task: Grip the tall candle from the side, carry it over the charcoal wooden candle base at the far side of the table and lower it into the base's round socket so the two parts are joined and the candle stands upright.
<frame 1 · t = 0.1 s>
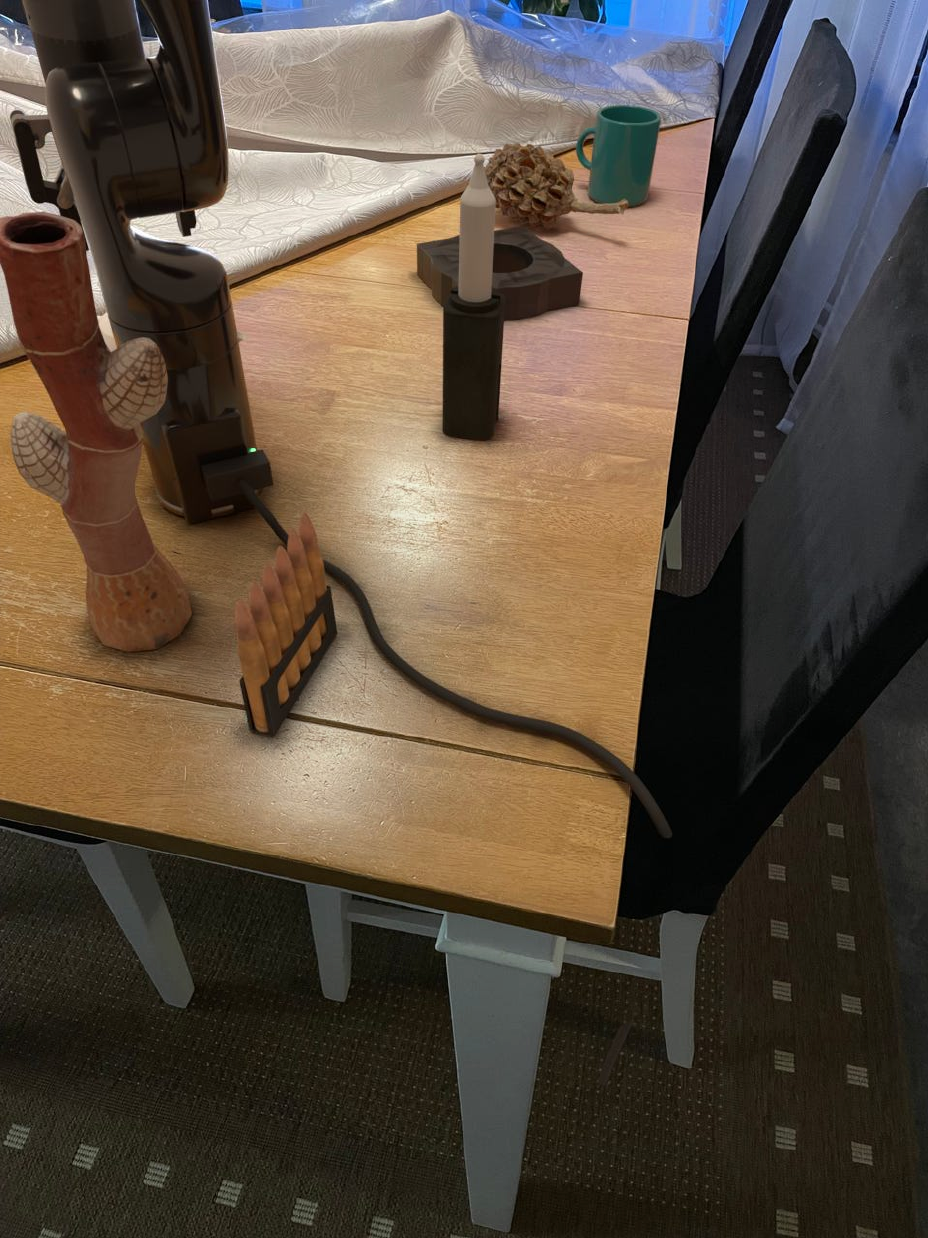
hand: (135, 239, 75), 17 cm above the table, tool pointing down, fingers open, 8 cm apart
candle: (470, 426, 87), on the table
teapot: (168, 392, 91), on the table
ammunition clip: (296, 681, 64), on the table
pine cone: (553, 230, 123), on the table
vase: (155, 623, 67), on the table
cup: (608, 196, 132), on the table
candle base: (496, 289, 109), on the table
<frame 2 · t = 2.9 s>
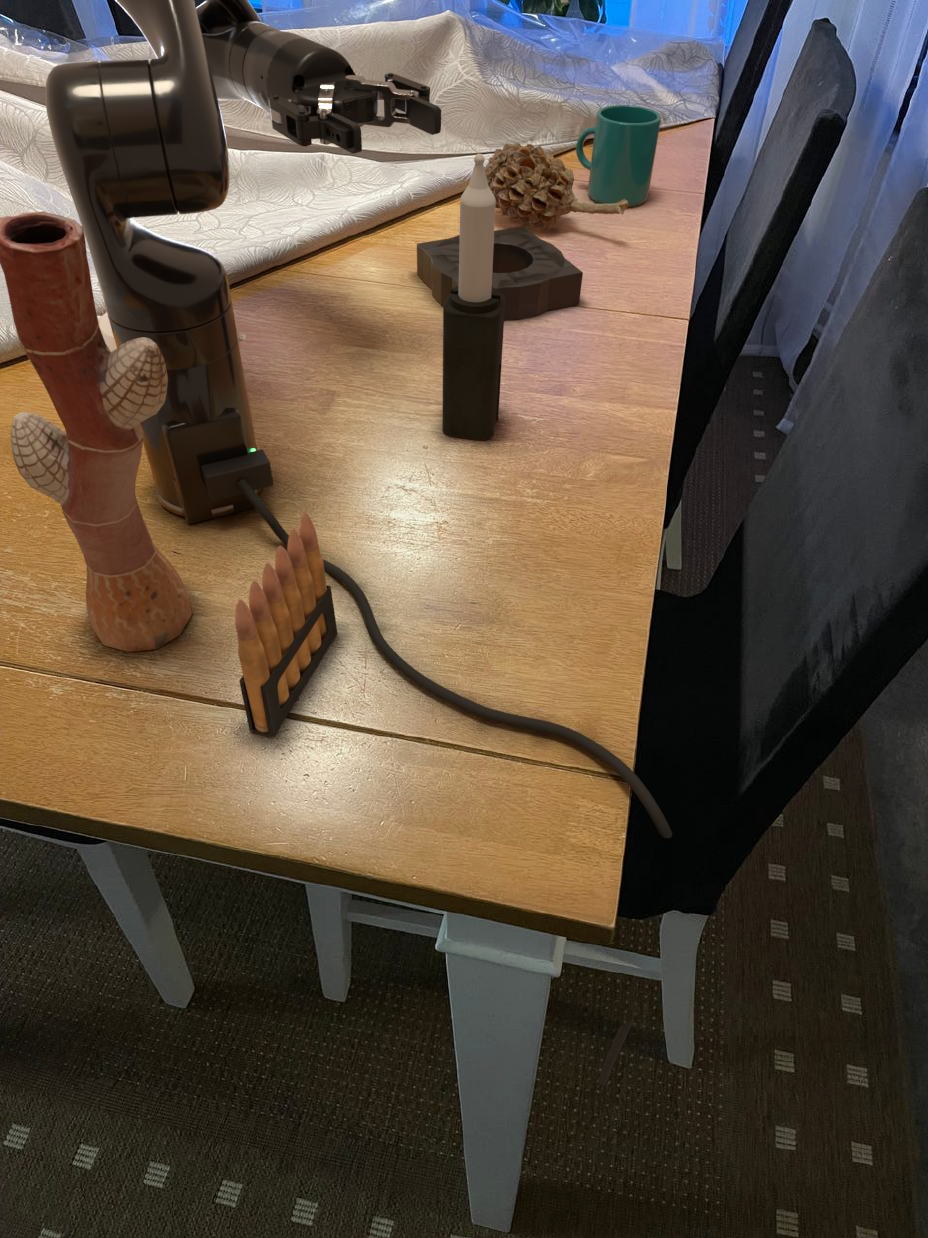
hand: (399, 130, 76), 24 cm above the table, tool horizontal, fingers open, 8 cm apart
nothing on the table moved.
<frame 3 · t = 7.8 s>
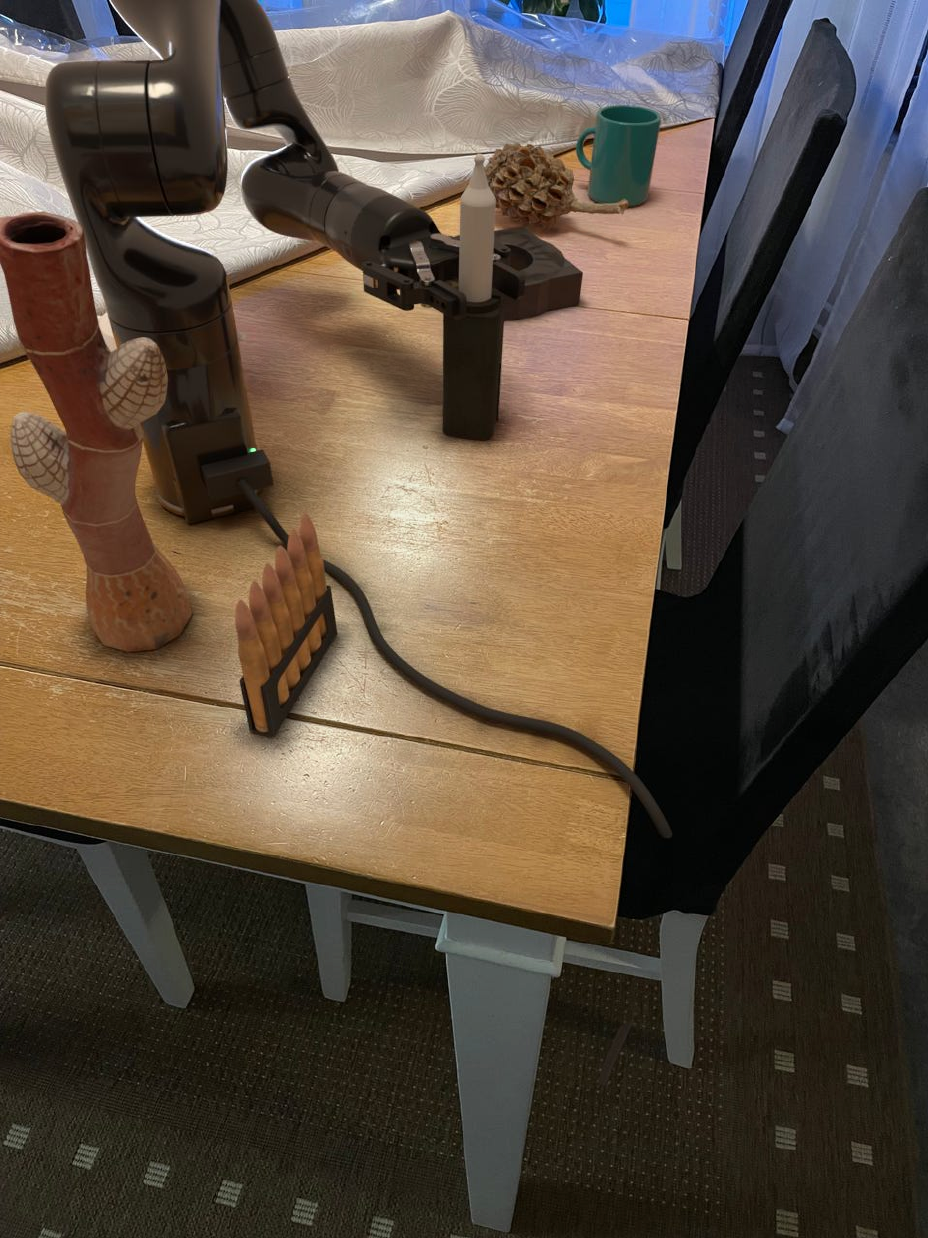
hand: (492, 298, 76), 14 cm above the table, tool horizontal, fingers closed on candle, 6 cm apart
candle: (470, 426, 87), on the table, touching gripper
everything else where it was.
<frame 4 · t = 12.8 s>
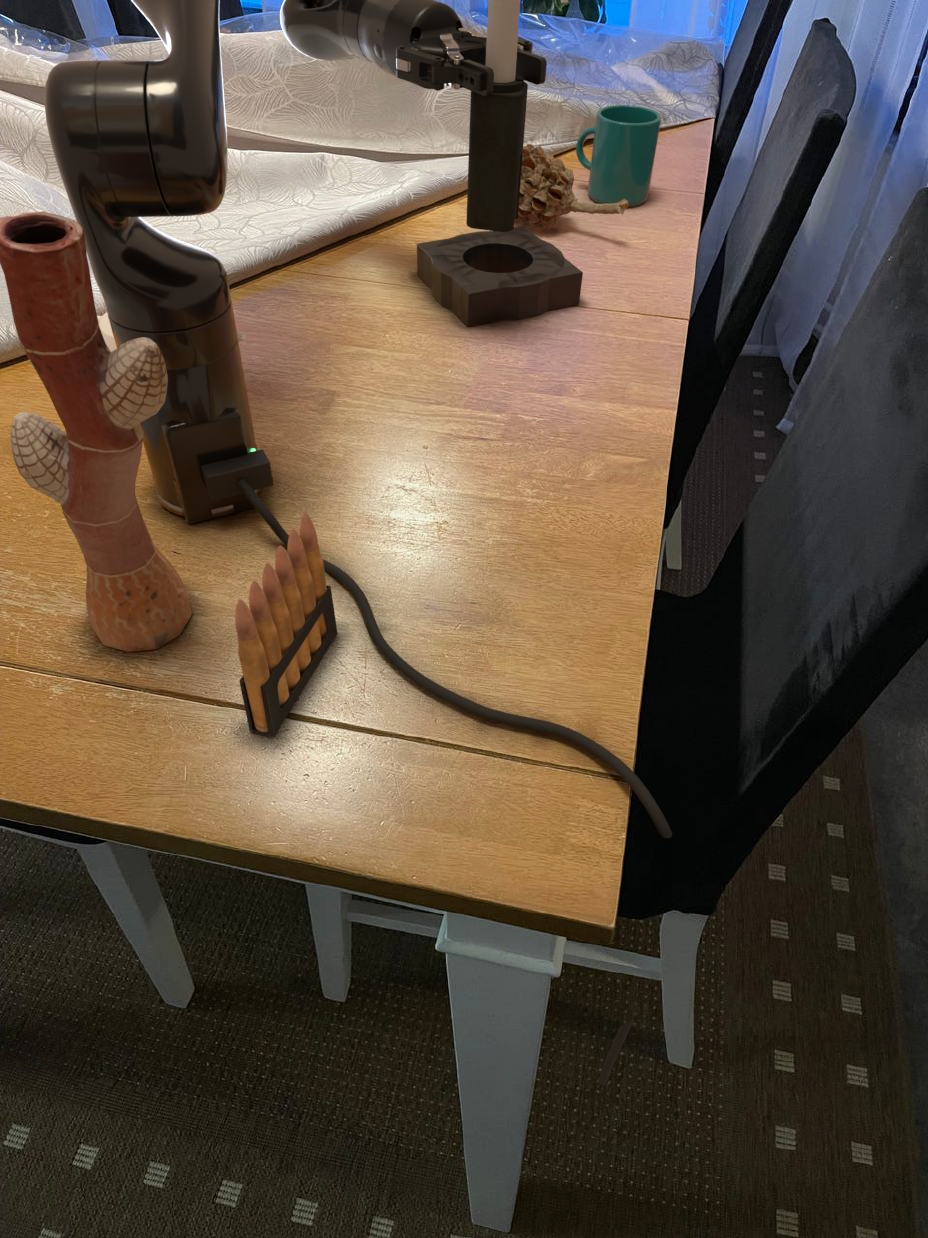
hand: (517, 77, 82), 26 cm above the table, tool horizontal, fingers closed on candle, 6 cm apart
candle: (492, 222, 94), point 12 cm above the table, touching gripper
everything else where it was.
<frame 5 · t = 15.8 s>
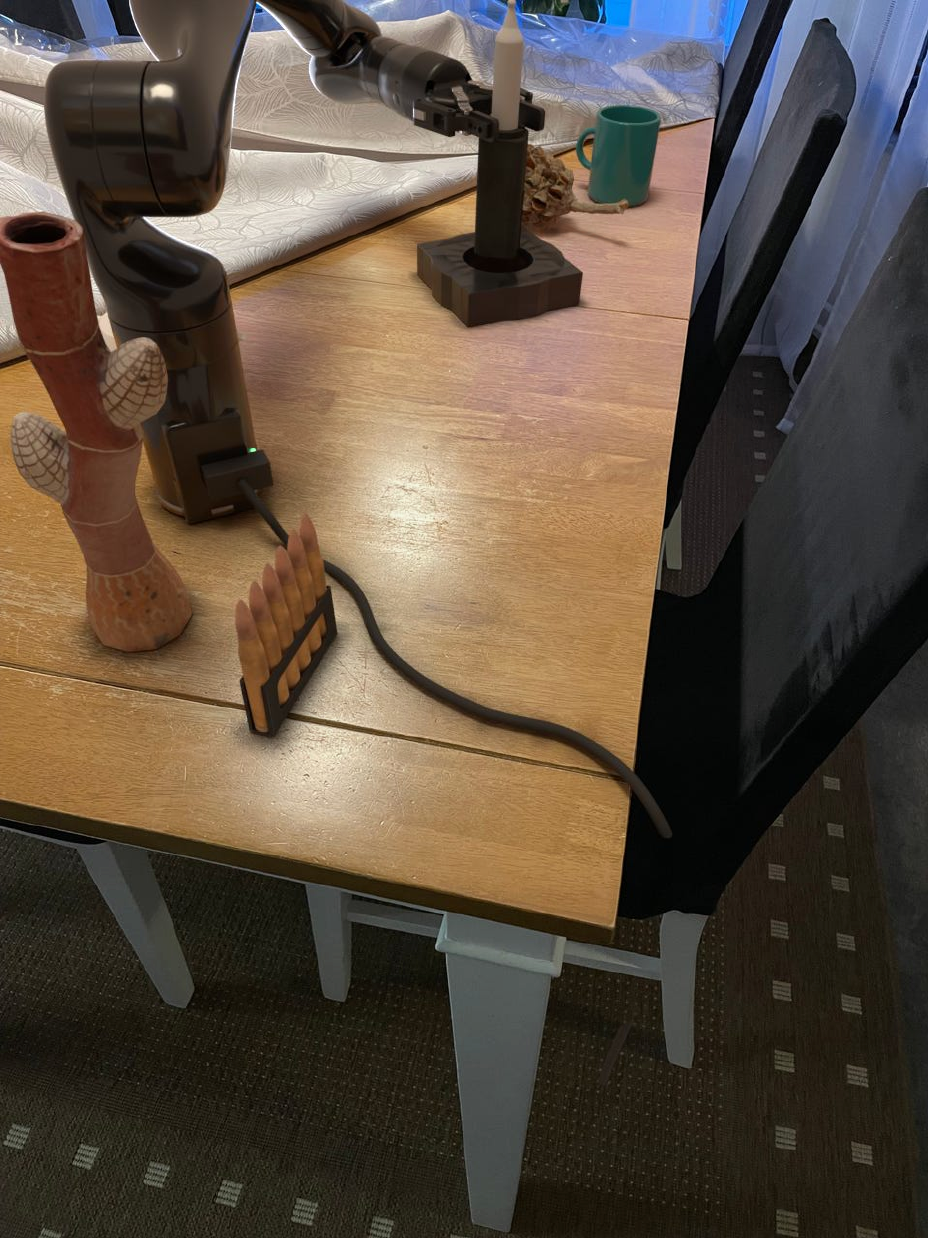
hand: (519, 125, 94), 19 cm above the table, tool horizontal, fingers closed on candle, 6 cm apart
candle: (497, 250, 105), point 5 cm above the table, touching gripper
everything else where it was.
when the fingers open (14 cm above the table, at t = 18.0 s): candle stays where it is, resting in candle base.
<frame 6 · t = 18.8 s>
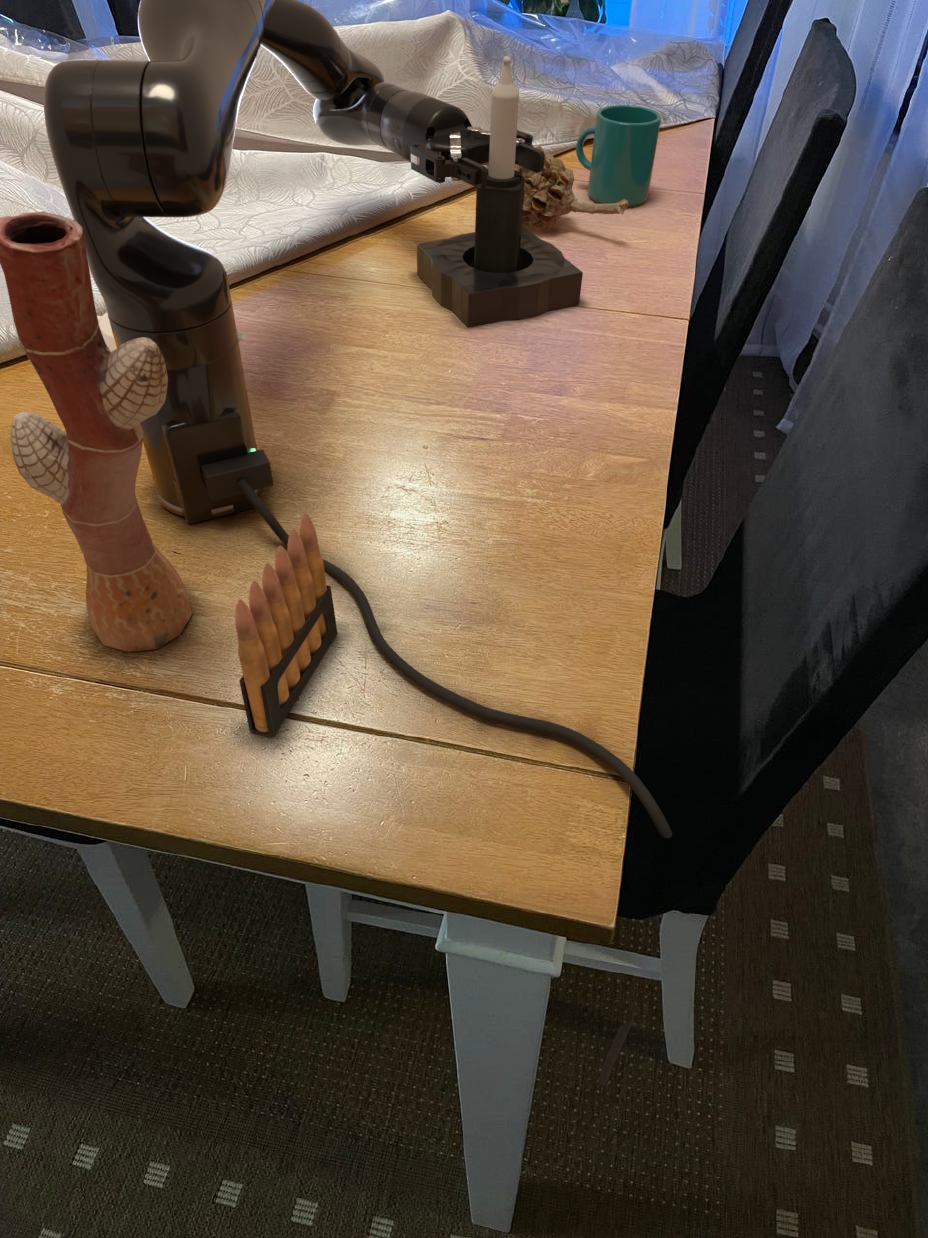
hand: (513, 170, 97), 14 cm above the table, tool horizontal, fingers open, 8 cm apart
candle: (495, 290, 109), resting in candle base
everything else where it was.
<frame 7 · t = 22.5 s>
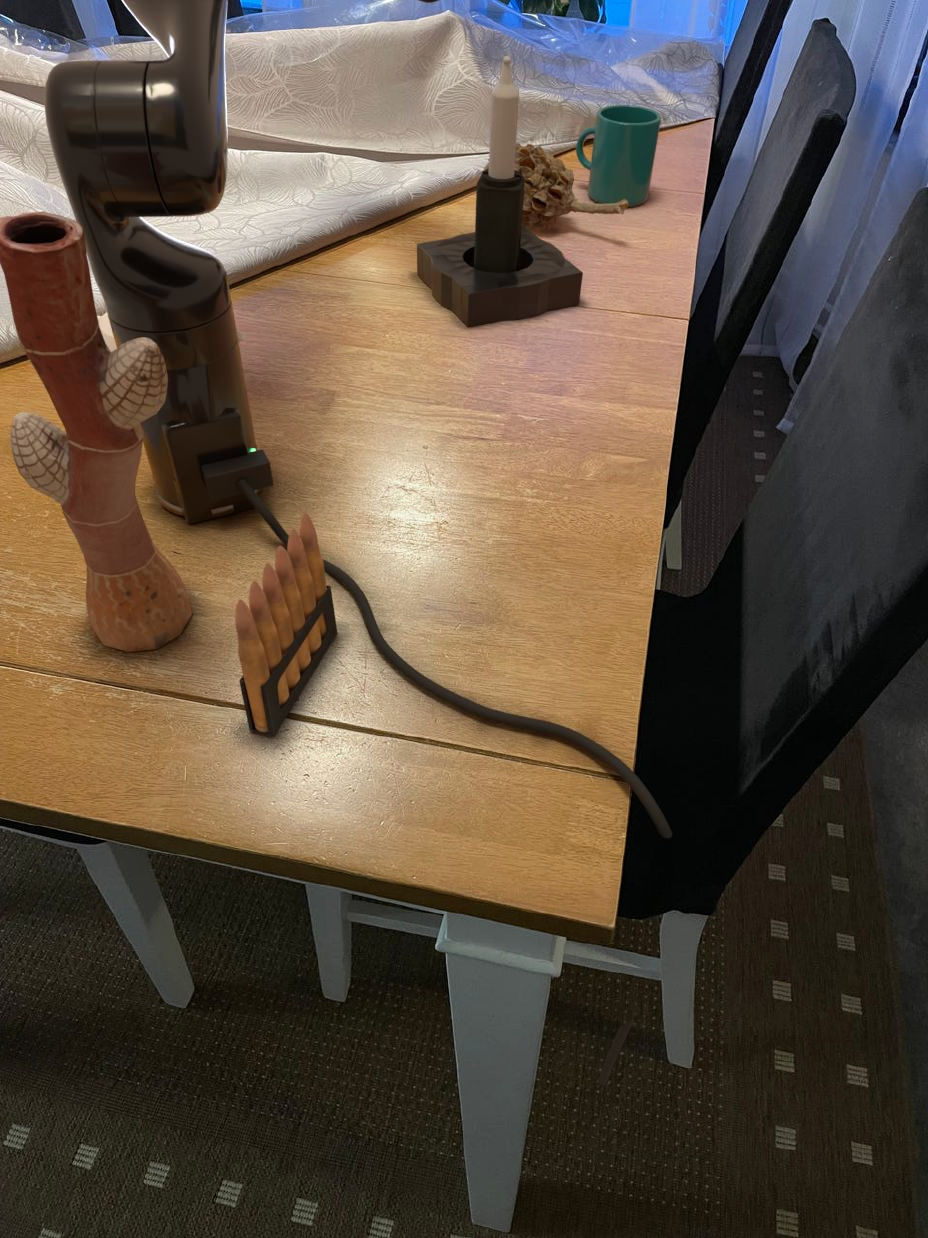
nothing on the table moved.
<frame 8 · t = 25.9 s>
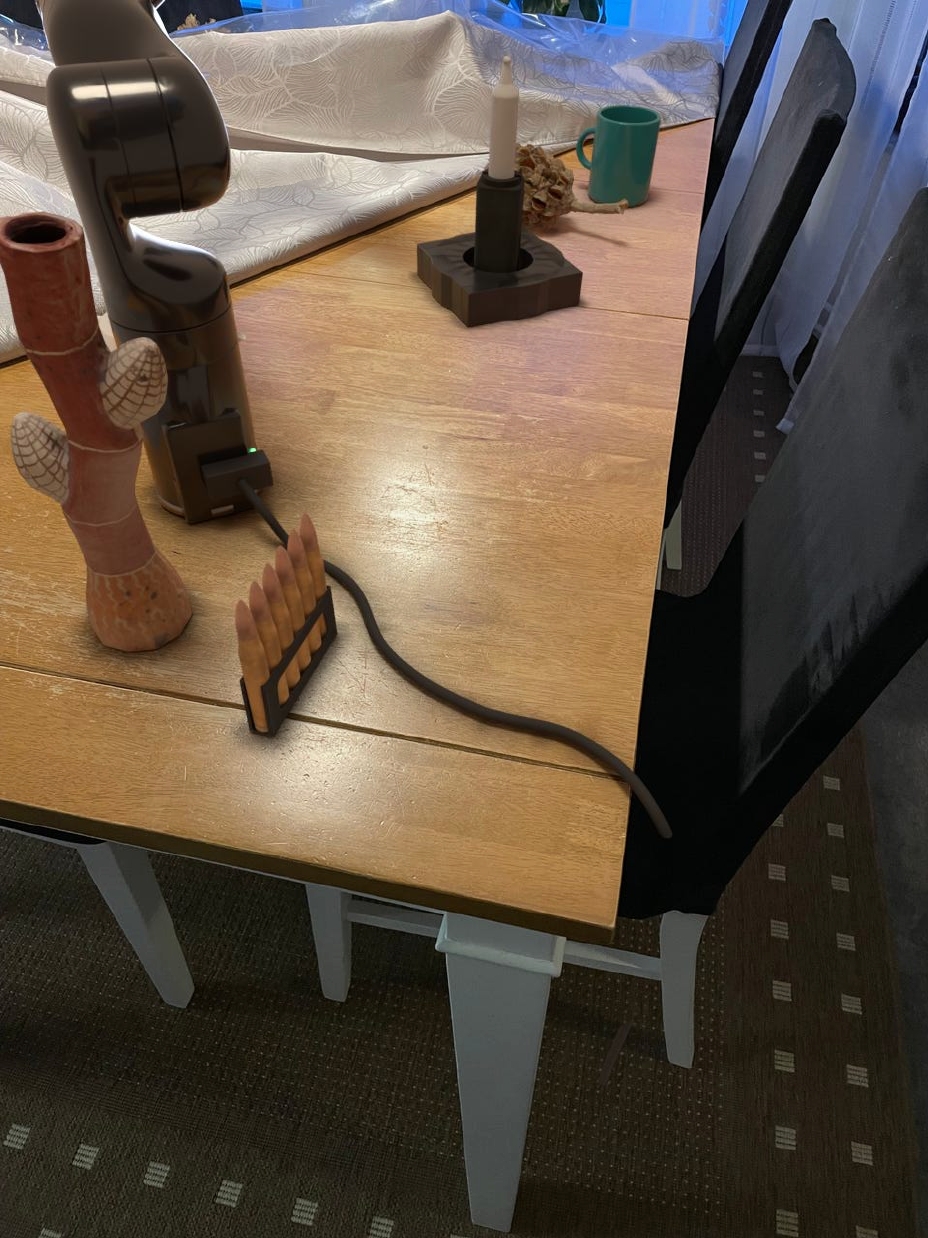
nothing on the table moved.
at the end: candle 0.1 cm off-centre in the candle base, point 0.0 cm above the candle base's base; candle tilted 0°; the gripper is holding nothing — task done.
